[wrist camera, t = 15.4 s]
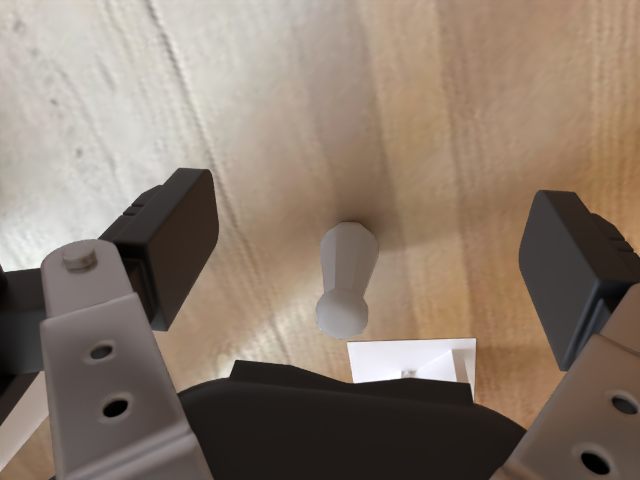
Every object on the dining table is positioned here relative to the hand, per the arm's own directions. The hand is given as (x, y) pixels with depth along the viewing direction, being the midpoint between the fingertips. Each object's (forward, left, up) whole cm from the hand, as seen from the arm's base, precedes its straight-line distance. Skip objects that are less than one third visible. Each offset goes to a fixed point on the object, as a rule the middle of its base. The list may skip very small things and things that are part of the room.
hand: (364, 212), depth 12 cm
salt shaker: (+14, +14, -30) cm, 36 cm away
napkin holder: (+20, +34, -30) cm, 50 cm away
